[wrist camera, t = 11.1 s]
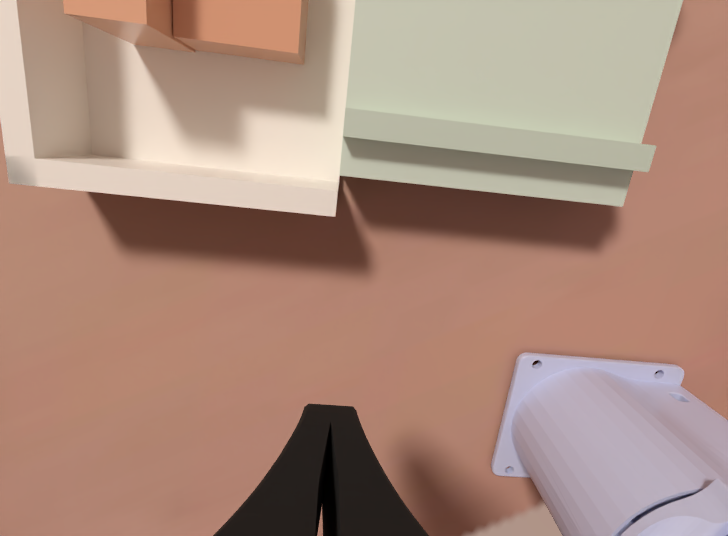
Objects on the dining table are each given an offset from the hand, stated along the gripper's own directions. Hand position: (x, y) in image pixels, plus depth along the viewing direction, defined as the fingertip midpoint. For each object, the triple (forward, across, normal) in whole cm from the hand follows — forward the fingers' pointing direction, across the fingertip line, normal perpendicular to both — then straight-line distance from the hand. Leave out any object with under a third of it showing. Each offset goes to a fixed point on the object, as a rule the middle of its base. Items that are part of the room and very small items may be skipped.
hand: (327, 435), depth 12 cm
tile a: (+10, +4, -13) cm, 17 cm away
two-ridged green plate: (+10, -6, -13) cm, 18 cm away
